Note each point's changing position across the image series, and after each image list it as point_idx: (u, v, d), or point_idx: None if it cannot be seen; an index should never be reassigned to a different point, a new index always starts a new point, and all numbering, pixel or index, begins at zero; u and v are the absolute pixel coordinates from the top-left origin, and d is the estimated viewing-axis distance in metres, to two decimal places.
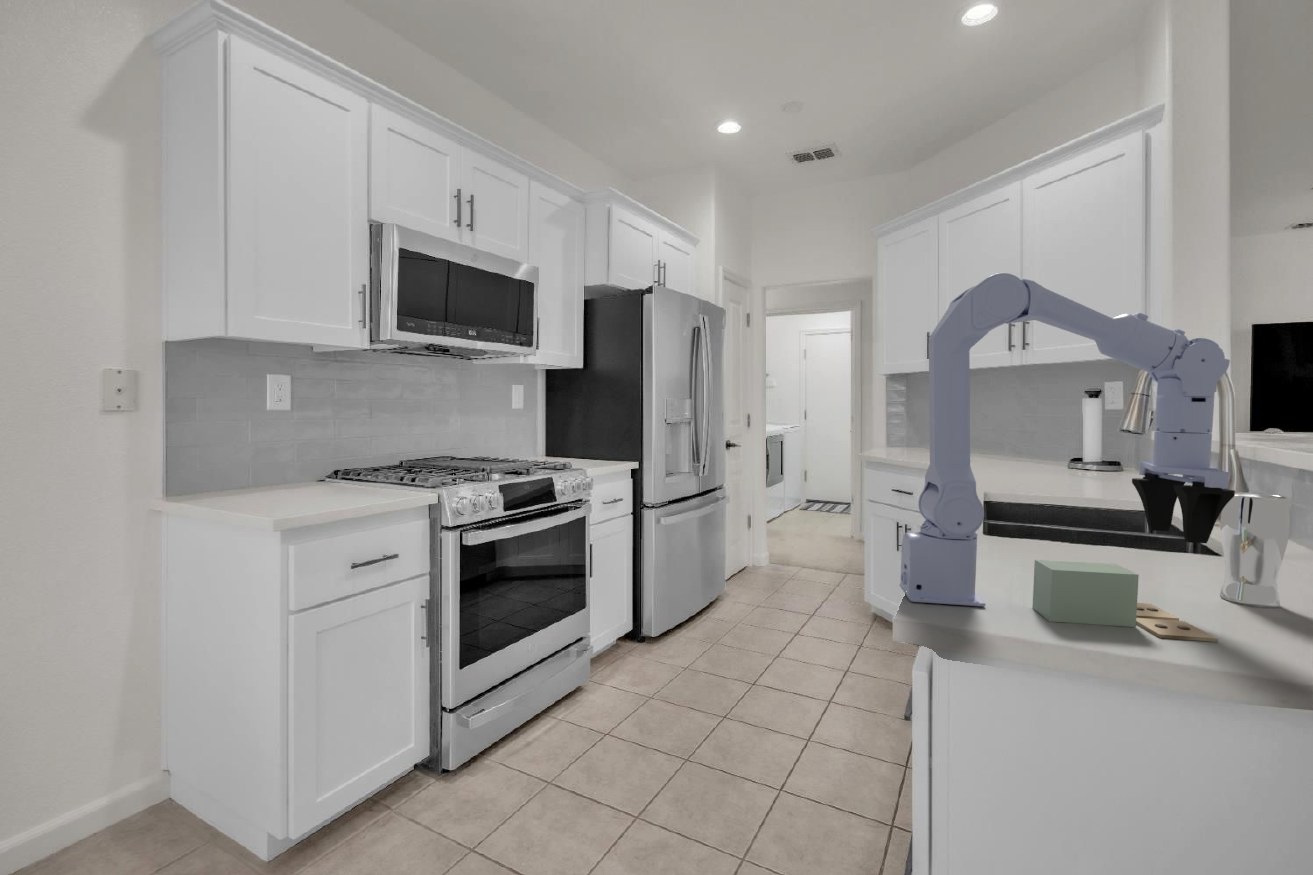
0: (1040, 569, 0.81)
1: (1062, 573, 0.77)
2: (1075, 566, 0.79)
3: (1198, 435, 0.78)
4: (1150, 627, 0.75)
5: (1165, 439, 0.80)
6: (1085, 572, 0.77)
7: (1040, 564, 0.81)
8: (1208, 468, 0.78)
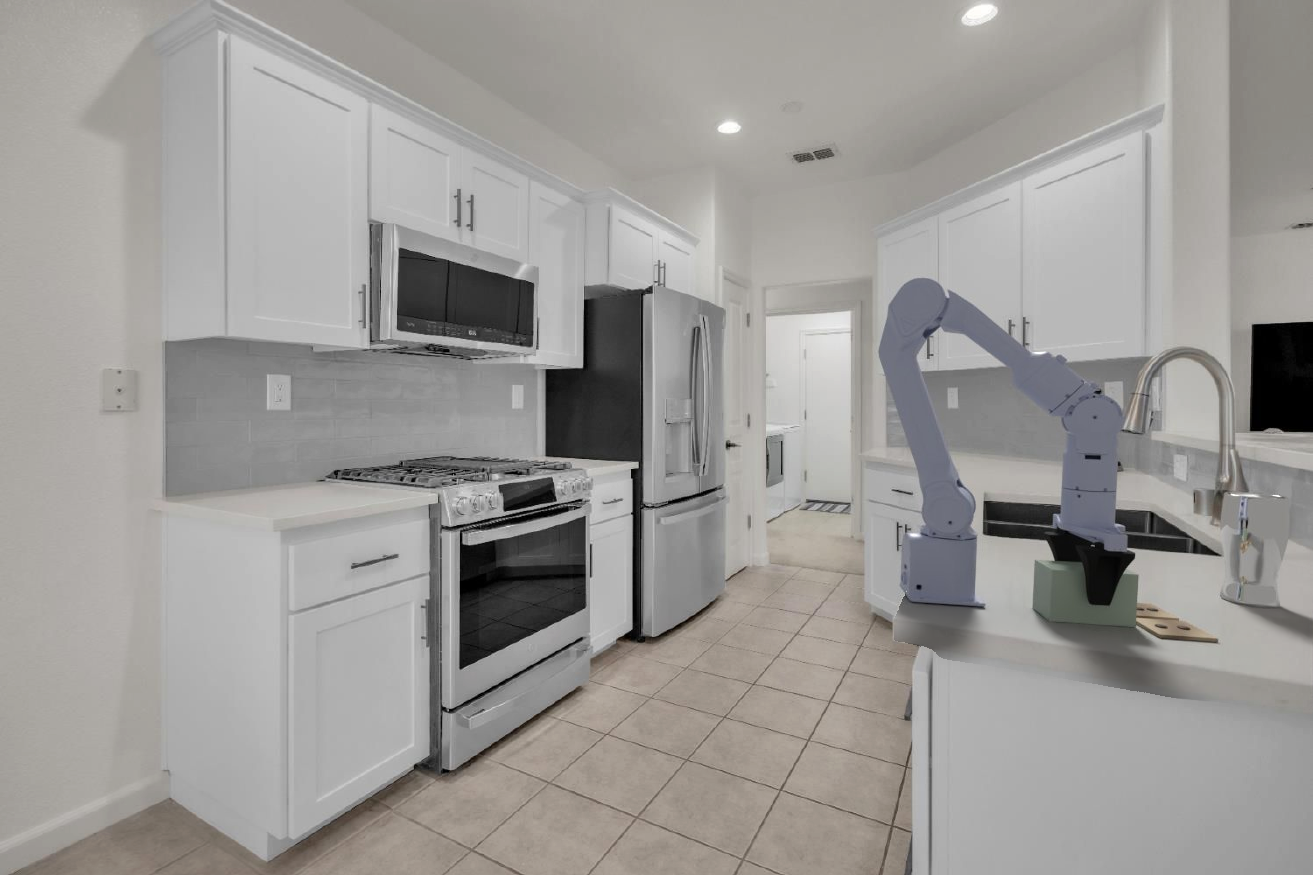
0: (1040, 569, 0.81)
1: (1062, 573, 0.77)
2: (1075, 566, 0.79)
3: (1101, 494, 0.76)
4: (1150, 627, 0.75)
5: (1070, 496, 0.78)
6: None
7: (1040, 564, 0.81)
8: (1112, 527, 0.76)
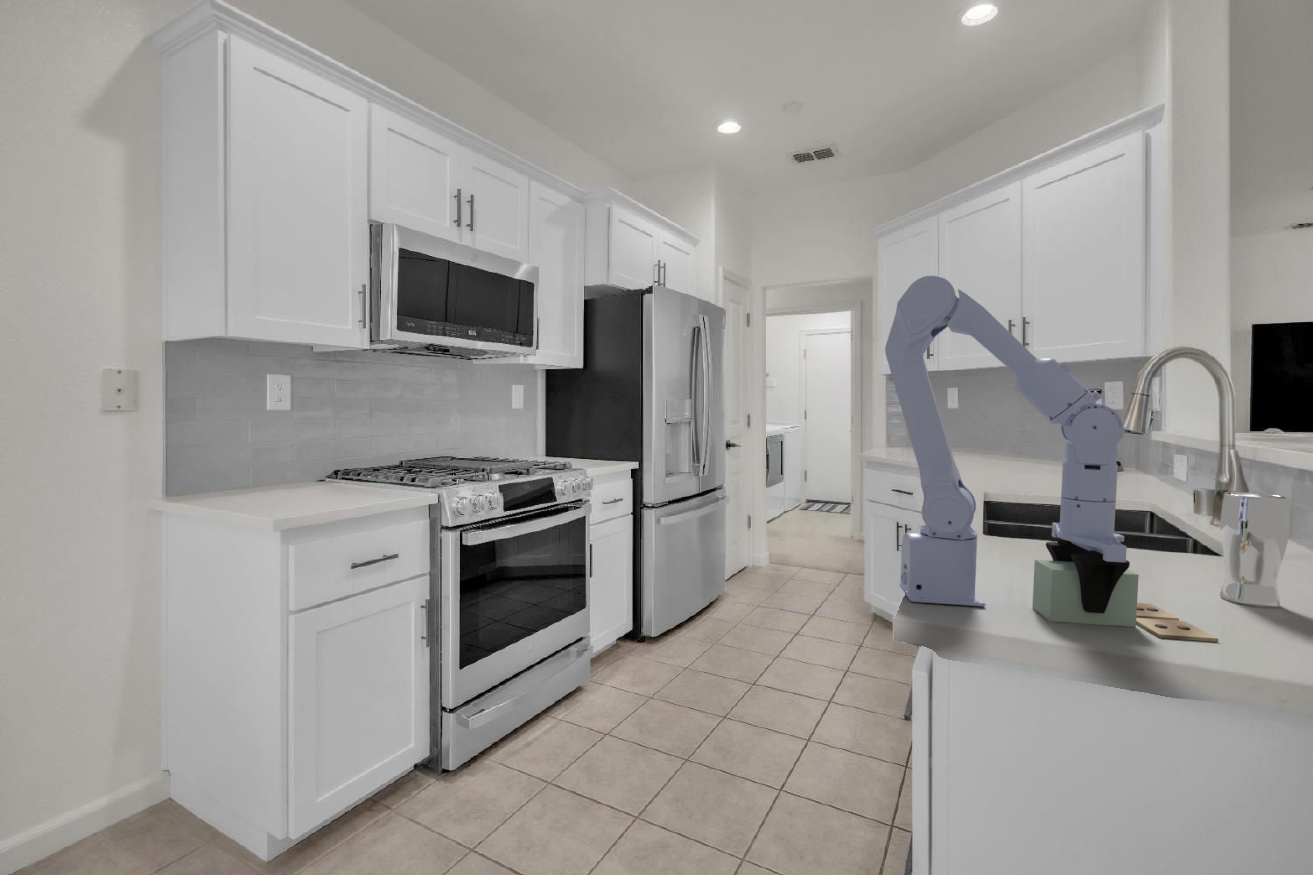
0: (1040, 569, 0.81)
1: (1062, 573, 0.77)
2: (1075, 566, 0.79)
3: (1100, 504, 0.76)
4: (1150, 627, 0.75)
5: (1069, 506, 0.78)
6: None
7: (1040, 564, 0.81)
8: (1111, 537, 0.76)
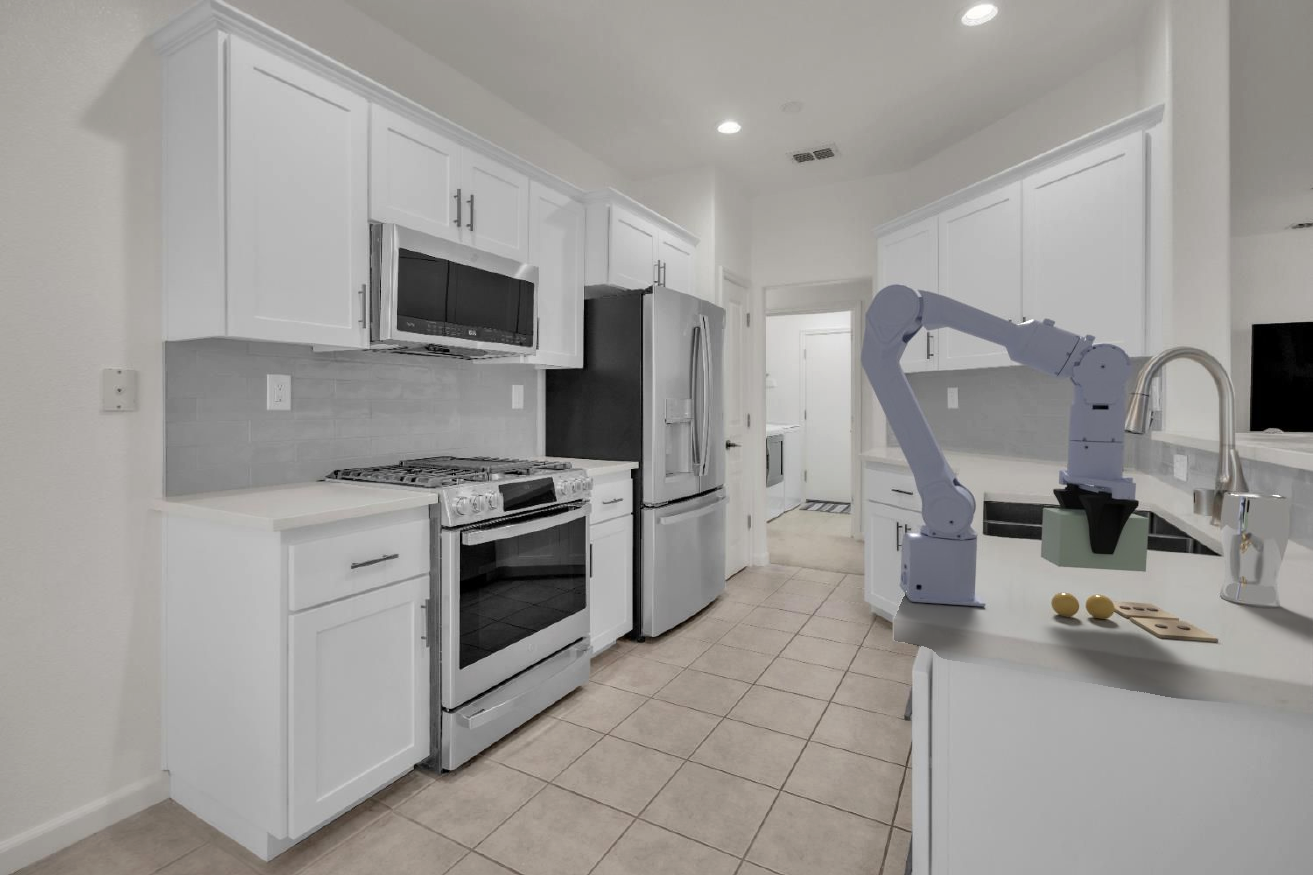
0: (1049, 516, 0.80)
1: (1071, 518, 0.77)
2: (1084, 512, 0.79)
3: (1109, 444, 0.75)
4: (1150, 627, 0.75)
5: (1077, 448, 0.77)
6: None
7: (1049, 511, 0.80)
8: (1120, 478, 0.76)
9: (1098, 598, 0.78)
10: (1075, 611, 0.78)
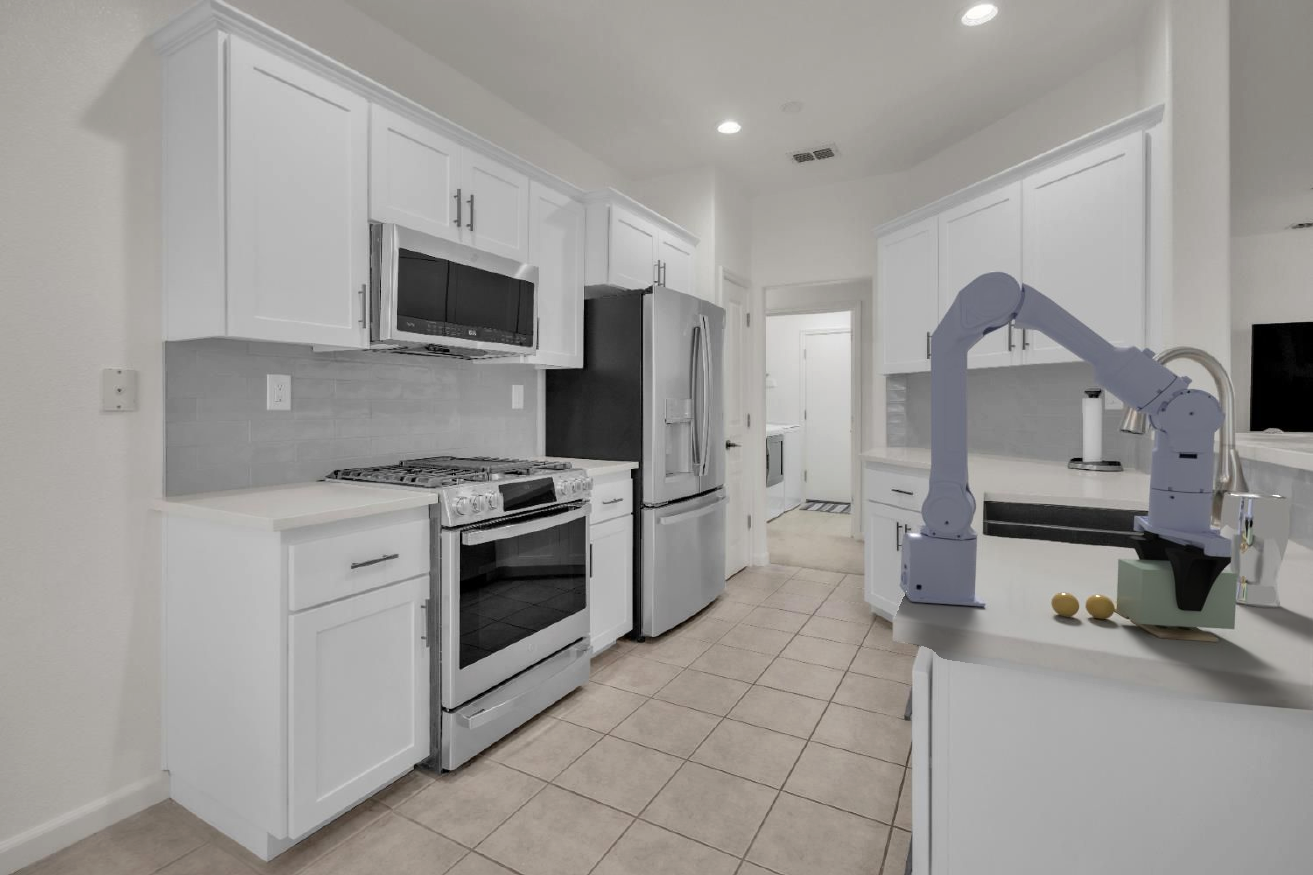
0: (1126, 569, 0.76)
1: (1154, 573, 0.73)
2: (1165, 565, 0.75)
3: (1197, 495, 0.71)
4: (1150, 627, 0.75)
5: (1161, 498, 0.73)
6: None
7: (1126, 563, 0.76)
8: (1208, 531, 0.72)
9: (1098, 598, 0.78)
10: (1075, 611, 0.78)
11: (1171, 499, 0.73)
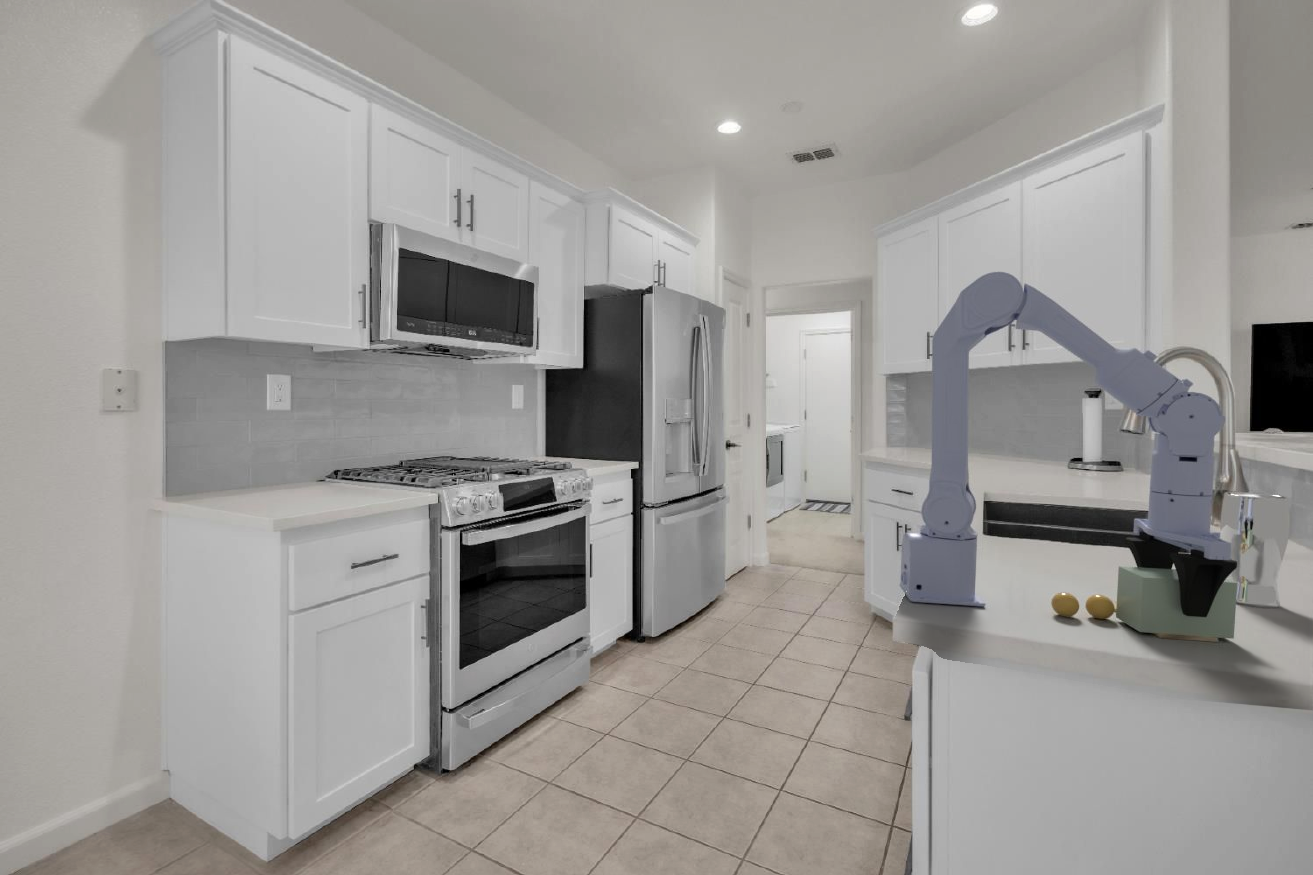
0: (1126, 576, 0.76)
1: (1154, 581, 0.73)
2: (1165, 573, 0.75)
3: (1197, 498, 0.71)
4: None
5: (1161, 501, 0.73)
6: None
7: (1126, 571, 0.76)
8: (1208, 534, 0.72)
9: (1098, 598, 0.78)
10: (1075, 611, 0.78)
11: (1171, 502, 0.73)
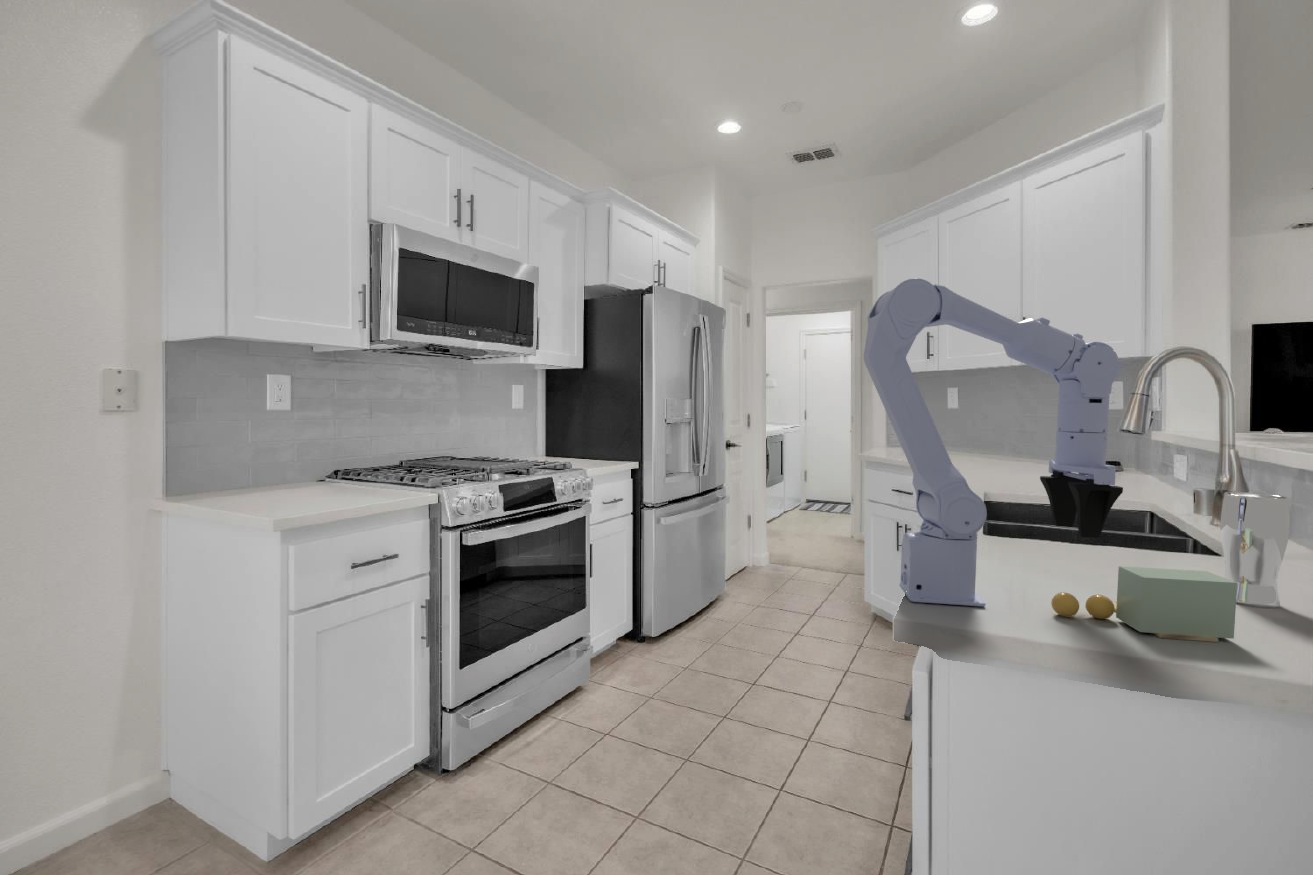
0: (1126, 576, 0.76)
1: (1154, 581, 0.73)
2: (1165, 573, 0.75)
3: (1092, 434, 0.82)
4: None
5: (1063, 438, 0.84)
6: (1179, 580, 0.72)
7: (1126, 571, 0.76)
8: (1102, 466, 0.82)
9: (1098, 598, 0.78)
10: (1075, 611, 0.78)
11: (1071, 439, 0.83)
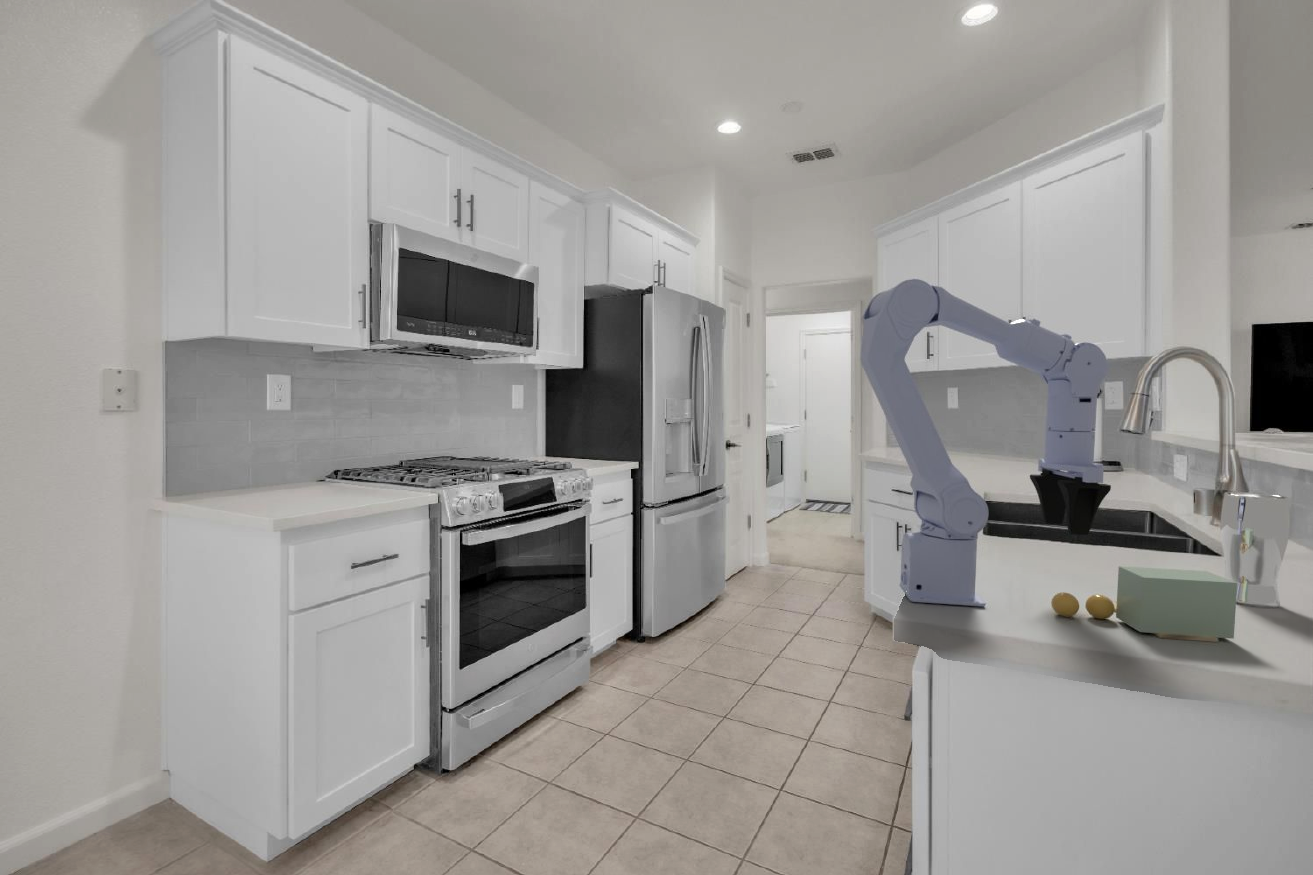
0: (1126, 576, 0.76)
1: (1154, 581, 0.73)
2: (1165, 573, 0.75)
3: (1081, 433, 0.83)
4: None
5: (1053, 437, 0.85)
6: (1179, 580, 0.72)
7: (1126, 571, 0.76)
8: (1091, 464, 0.84)
9: (1098, 598, 0.78)
10: (1075, 611, 0.78)
11: (1060, 438, 0.84)
